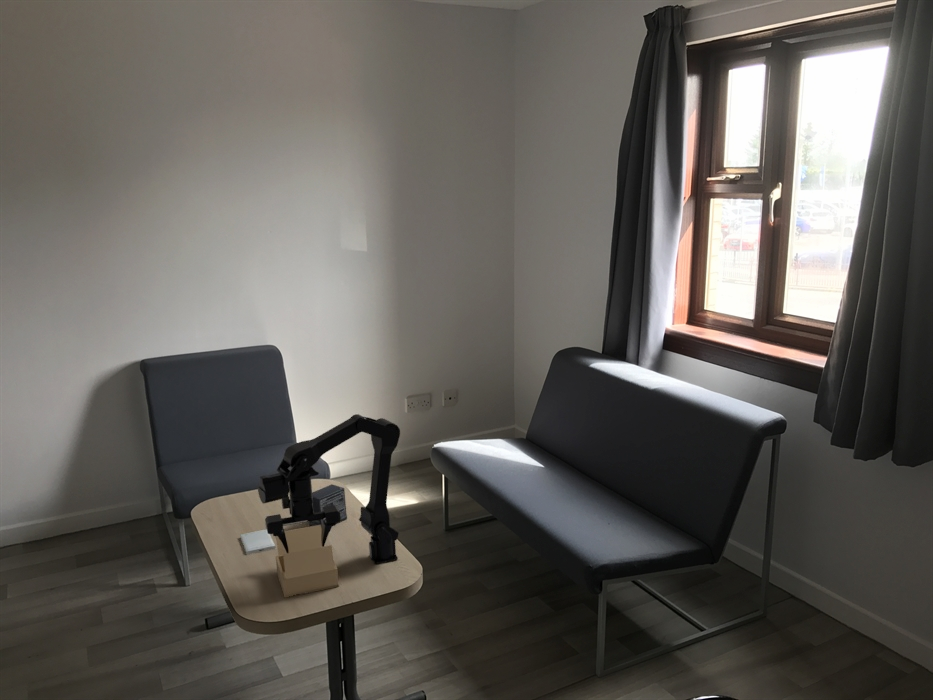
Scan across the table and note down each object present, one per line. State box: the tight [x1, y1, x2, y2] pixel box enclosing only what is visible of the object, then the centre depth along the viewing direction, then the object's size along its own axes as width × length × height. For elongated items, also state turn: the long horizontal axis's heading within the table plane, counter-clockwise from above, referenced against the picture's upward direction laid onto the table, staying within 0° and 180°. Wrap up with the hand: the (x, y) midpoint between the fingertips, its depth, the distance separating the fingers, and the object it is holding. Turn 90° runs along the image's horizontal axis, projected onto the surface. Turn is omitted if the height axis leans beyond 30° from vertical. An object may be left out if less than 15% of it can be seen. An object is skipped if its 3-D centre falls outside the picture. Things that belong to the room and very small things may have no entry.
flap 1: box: [275, 525, 322, 556], centre depth 215 cm, size 12×6×1 cm
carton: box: [275, 555, 340, 598], centre depth 207 cm, size 14×14×5 cm
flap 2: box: [283, 544, 335, 579], centre depth 201 cm, size 12×6×1 cm
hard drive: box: [240, 529, 277, 555], centre depth 230 cm, size 2×8×12 cm
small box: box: [308, 484, 348, 529], centre depth 242 cm, size 11×6×10 cm, turn 141°
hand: (305, 549), depth 205 cm, fingers open, 9 cm apart
